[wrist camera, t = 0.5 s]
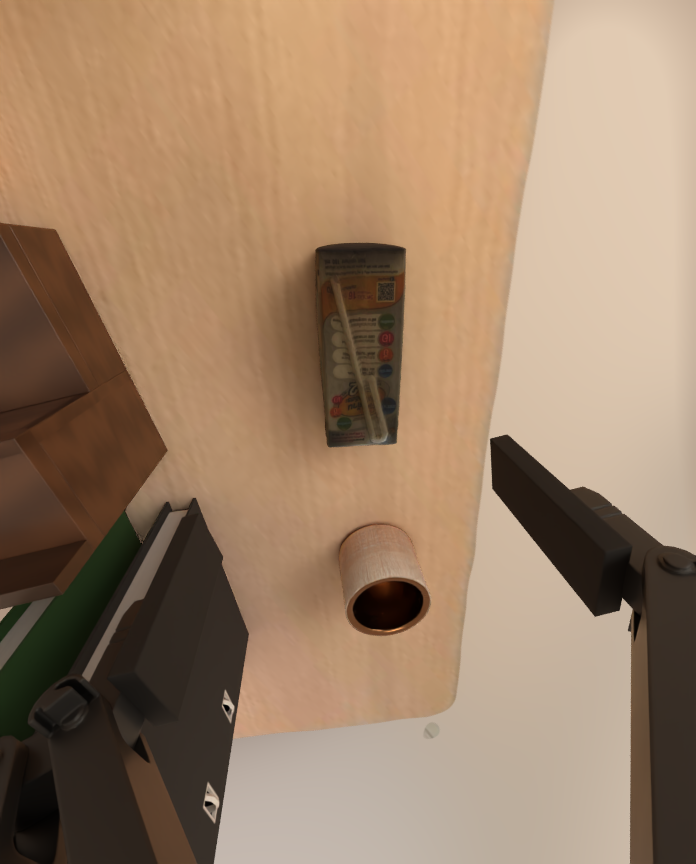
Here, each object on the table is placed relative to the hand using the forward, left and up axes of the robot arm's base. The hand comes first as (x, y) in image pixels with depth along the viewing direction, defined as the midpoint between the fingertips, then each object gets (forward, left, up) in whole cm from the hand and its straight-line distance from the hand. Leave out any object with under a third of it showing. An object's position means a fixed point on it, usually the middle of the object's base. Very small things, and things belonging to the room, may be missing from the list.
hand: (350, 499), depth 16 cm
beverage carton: (-1, +4, -26) cm, 26 cm away
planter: (+29, +1, -26) cm, 39 cm away
